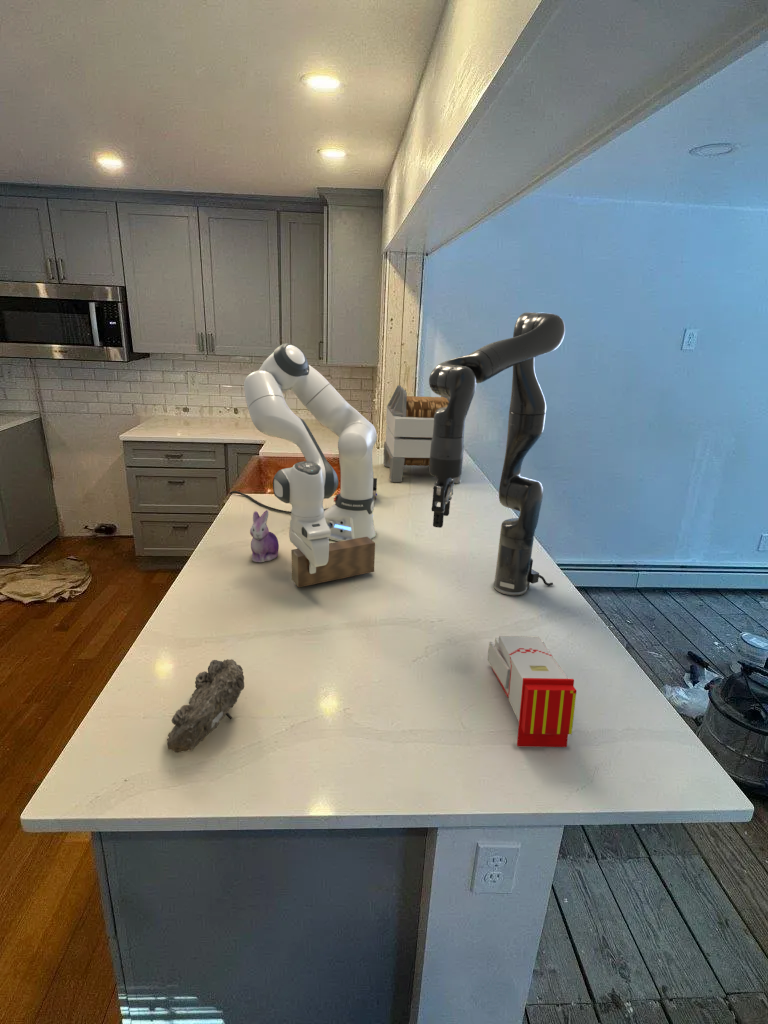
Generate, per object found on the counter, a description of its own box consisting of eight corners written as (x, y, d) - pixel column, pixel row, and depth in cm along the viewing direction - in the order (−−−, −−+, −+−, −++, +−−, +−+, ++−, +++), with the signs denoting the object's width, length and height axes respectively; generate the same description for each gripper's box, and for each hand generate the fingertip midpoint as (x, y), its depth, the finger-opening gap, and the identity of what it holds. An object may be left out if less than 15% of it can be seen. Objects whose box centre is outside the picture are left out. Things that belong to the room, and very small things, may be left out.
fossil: (192, 660, 117) (244, 628, 112) (224, 691, 120) (276, 661, 115) (142, 746, 98) (202, 712, 93) (182, 779, 101) (242, 748, 96)
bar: (298, 587, 156) (297, 556, 153) (291, 579, 161) (291, 549, 157) (374, 571, 168) (375, 542, 164) (366, 564, 172) (367, 536, 169)
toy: (536, 619, 129) (586, 686, 99) (531, 673, 131) (578, 754, 102) (483, 618, 128) (517, 685, 99) (479, 672, 131) (511, 753, 102)
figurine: (254, 565, 170) (252, 519, 165) (245, 552, 179) (243, 508, 174) (284, 560, 175) (283, 515, 169) (274, 548, 183) (273, 504, 178)
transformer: (382, 463, 289) (386, 382, 275) (445, 464, 293) (451, 384, 279) (390, 482, 257) (394, 392, 243) (460, 483, 261) (468, 394, 247)
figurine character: (377, 508, 228) (376, 492, 242) (377, 490, 225) (377, 476, 238) (360, 507, 228) (361, 492, 242) (360, 490, 225) (361, 475, 238)
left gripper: (283, 511, 161) (284, 555, 166) (310, 536, 144) (310, 585, 149) (304, 508, 164) (304, 552, 169) (333, 533, 147) (332, 580, 152)
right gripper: (458, 463, 122) (451, 533, 128) (467, 449, 135) (461, 513, 140) (423, 459, 124) (419, 528, 129) (436, 446, 137) (431, 509, 142)
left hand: (307, 567), depth 159 cm, fingers closed on bar, 5 cm apart
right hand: (441, 520), depth 135 cm, fingers open, 8 cm apart
